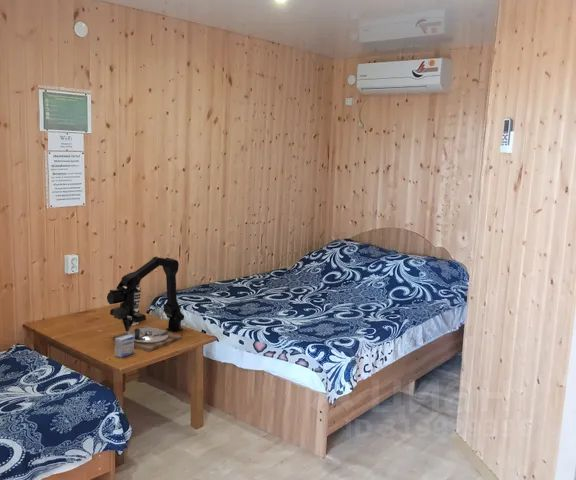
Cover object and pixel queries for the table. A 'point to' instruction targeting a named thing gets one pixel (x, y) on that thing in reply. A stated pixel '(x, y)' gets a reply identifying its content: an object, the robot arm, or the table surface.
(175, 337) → the walnut stand
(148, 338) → the dial
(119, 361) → the table surface
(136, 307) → the decorative candle
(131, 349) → the medicine box
